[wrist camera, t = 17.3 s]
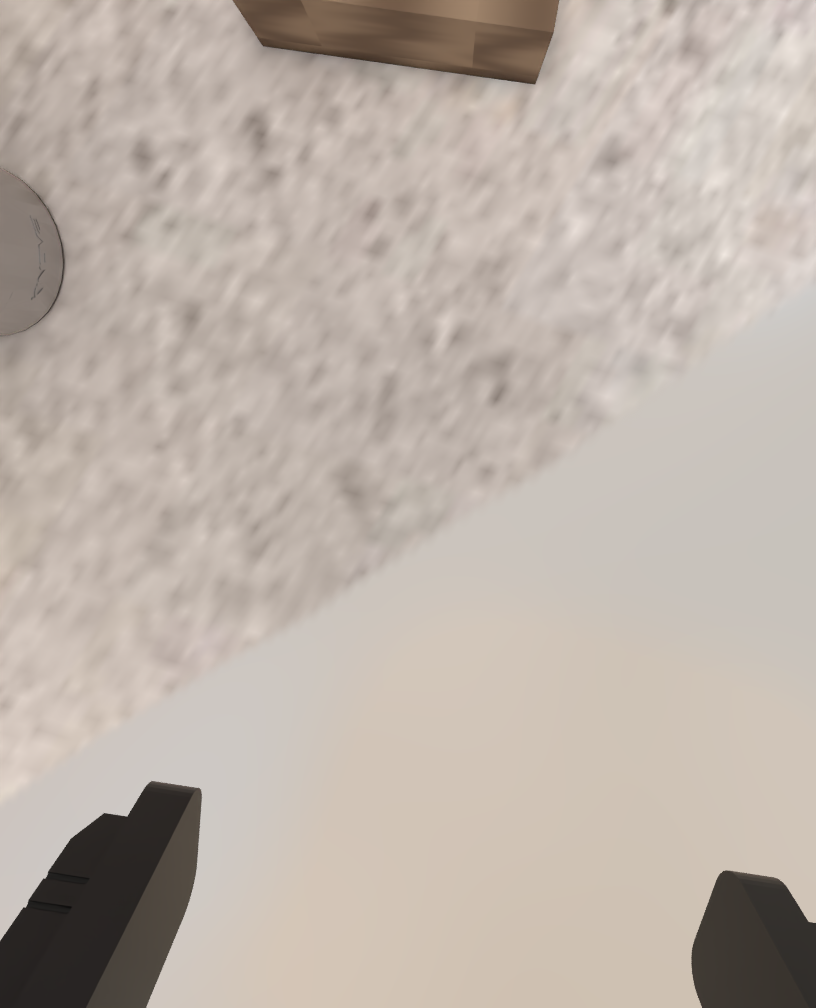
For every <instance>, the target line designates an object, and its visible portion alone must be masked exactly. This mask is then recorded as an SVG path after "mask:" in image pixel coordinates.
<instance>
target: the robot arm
mask: <svg viewBox="0 0 816 1008" xmlns="http://www.w3.org/2000/svg"><path fill="white" fill-rule="evenodd" d="M62 270H63V258H62V248H61V243H60V239H59V236H58V232H57V229H56V226H55V224H54V222H53V220H52V218H51V216H50V214H49V212H48V210H47V208H46V207H45V206H44V204H43V203H42V202H41V200H40V199H39V198H38V196H37V195H36V194H35V193H34V192H33V191H32V190H31V189H30V188H29V187H28V186H27V185H26V184H25V183H24V182H23V181H22V180H20V179H19V178H17V177H15V176H14V175H12V174H11V173H9V172H7V171H6V170H4V169H1V168H0V335H10V334H14V333H17V332H20V331H23V330H25V329H27V328H29V327H30V326H32V325H34V324H35V323H37V322H38V321H39V320H40V319H41V318H42V317H43V316H44V315H45V314H46V313H47V312H48V311H49V309H50V307H51V305H52V304H53V302H54V300H55V299H56V297H57V294H58V290H59V287H60V284H61V280H62ZM201 799H202V794H201V790H200V788H194V787H187V786H181V785H174V784H168V783H161V782H155V781H152V782H150V783H149V784H148V785H147V786H146V787H145V789H144V790H143V792H142V793H141V795H140V797H139V798H138V800H137V802H136V803H135V805H134V807H133V808H132V810H131V811H130V813H129V815H128V817H125V816H119V815H113V814H106V813H104V814H103V815H102V816H100V817H99V818H98V819H96V820H95V821H94V822H92V823H91V824H90V825H88V826H87V827H86V828H84V829H83V830H82V831H80V832H79V833H78V834H77V835H75V836H74V837H73V838H71V839H70V841H69V843H68V844H67V845H66V847H65V848H64V850H63V851H62V853H61V854H60V855H59V857H58V858H57V860H56V861H55V863H54V864H53V866H52V867H51V869H50V870H49V871H48V875H47V877H46V879H43V880H42V881H41V883H40V884H39V886H38V887H37V889H36V890H35V892H34V893H33V894H32V896H31V898H30V899H29V901H28V905H27V907H26V908H23V909H22V910H21V912H20V913H19V915H18V916H17V918H16V919H15V921H14V922H13V923H12V925H11V926H10V928H9V929H8V931H7V932H6V934H5V935H4V936H3V938H2V939H1V941H0V1008H146V1006H147V1004H148V1001H149V999H150V996H151V994H152V992H153V989H154V987H155V984H156V982H157V979H158V977H159V975H160V972H161V970H162V967H163V965H164V963H165V960H166V958H167V955H168V953H169V950H170V948H171V946H172V943H173V941H174V939H175V936H176V934H177V931H178V929H179V926H180V924H181V922H182V919H183V917H184V914H185V912H186V909H187V906H188V903H189V899H190V896H191V892H192V889H193V884H194V880H195V875H196V867H197V855H198V841H199V828H200V814H201ZM692 974H693V980H694V985H695V989H696V992H697V995H698V998H699V1000H700V1003H701V1006H702V1008H816V923H811V922H808V920H807V919H806V917H805V916H804V914H803V912H802V911H801V909H800V907H799V906H798V904H797V903H796V901H795V899H794V898H793V897H792V895H791V893H790V892H789V890H788V888H787V887H786V886H785V885H784V883H783V882H781V881H780V880H779V879H777V878H774V877H767V876H760V875H753V874H747V873H740V872H734V871H723V872H722V873H721V874H720V875H719V876H718V878H717V880H716V883H715V886H714V888H713V891H712V894H711V897H710V899H709V903H708V905H707V908H706V910H705V913H704V916H703V919H702V921H701V924H700V927H699V930H698V932H697V935H696V938H695V941H694V944H693V948H692Z"/></svg>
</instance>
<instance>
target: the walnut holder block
mask: <svg viewBox="0 0 816 1008" xmlns="http://www.w3.org/2000/svg"><path fill="white" fill-rule="evenodd" d="M233 2H234V3H235V5H236V6H237V8H238V9H239V11H240V12H241V14H242V15H243V17H244V18H245V20H246V21H247V23H248V24H249V26H250V27H251V29H252V30H253V32H254V33H255V35H256V36H257V38H258V39H259V41H260V42H261V44H262V45H263V46H267V47H274V48H281V49H289V50H296V51H303V52H310V53H317V54H324V55H331V56H338V57H345V58H352V59H360V60H367V61H374V62H381V63H388V64H395V65H402V66H409V67H416V68H423V69H430V70H438V71H445V72H452V73H459V74H466V75H473V76H480V77H487V78H494V79H501V80H508V81H516V82H523V83H530V84H535V83H536V80H537V77H538V74H539V72H540V69H541V66H542V63H543V60H544V58H545V55H546V52H547V49H548V46H549V44H550V41H551V38H552V35H553V32H554V27H555V21H556V15H557V10H558V4H559V0H233Z"/></svg>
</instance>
